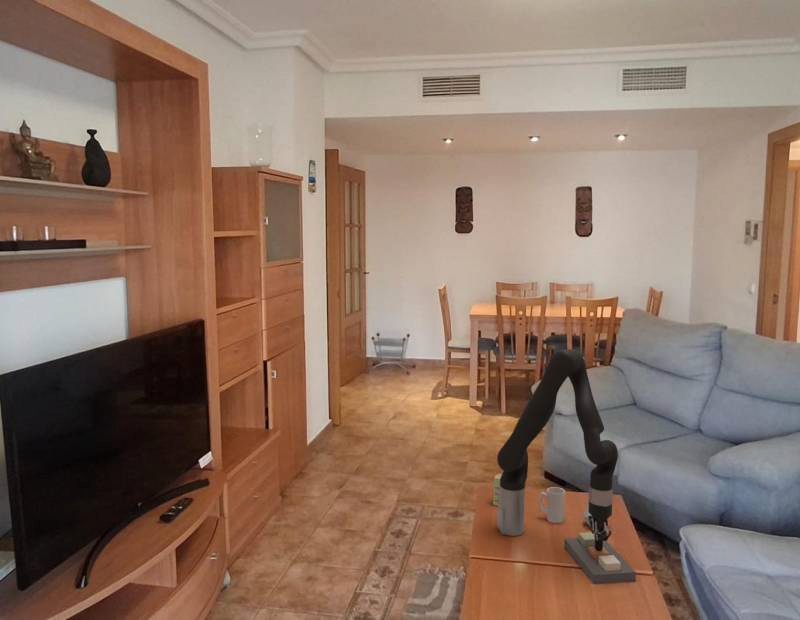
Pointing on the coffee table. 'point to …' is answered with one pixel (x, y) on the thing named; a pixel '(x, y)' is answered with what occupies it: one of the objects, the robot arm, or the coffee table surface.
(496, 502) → the box
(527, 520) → the coffee table surface
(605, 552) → the key terracotta
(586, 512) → the die
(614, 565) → the key ivory
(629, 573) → the key panel
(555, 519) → the mug
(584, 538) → the key sage
